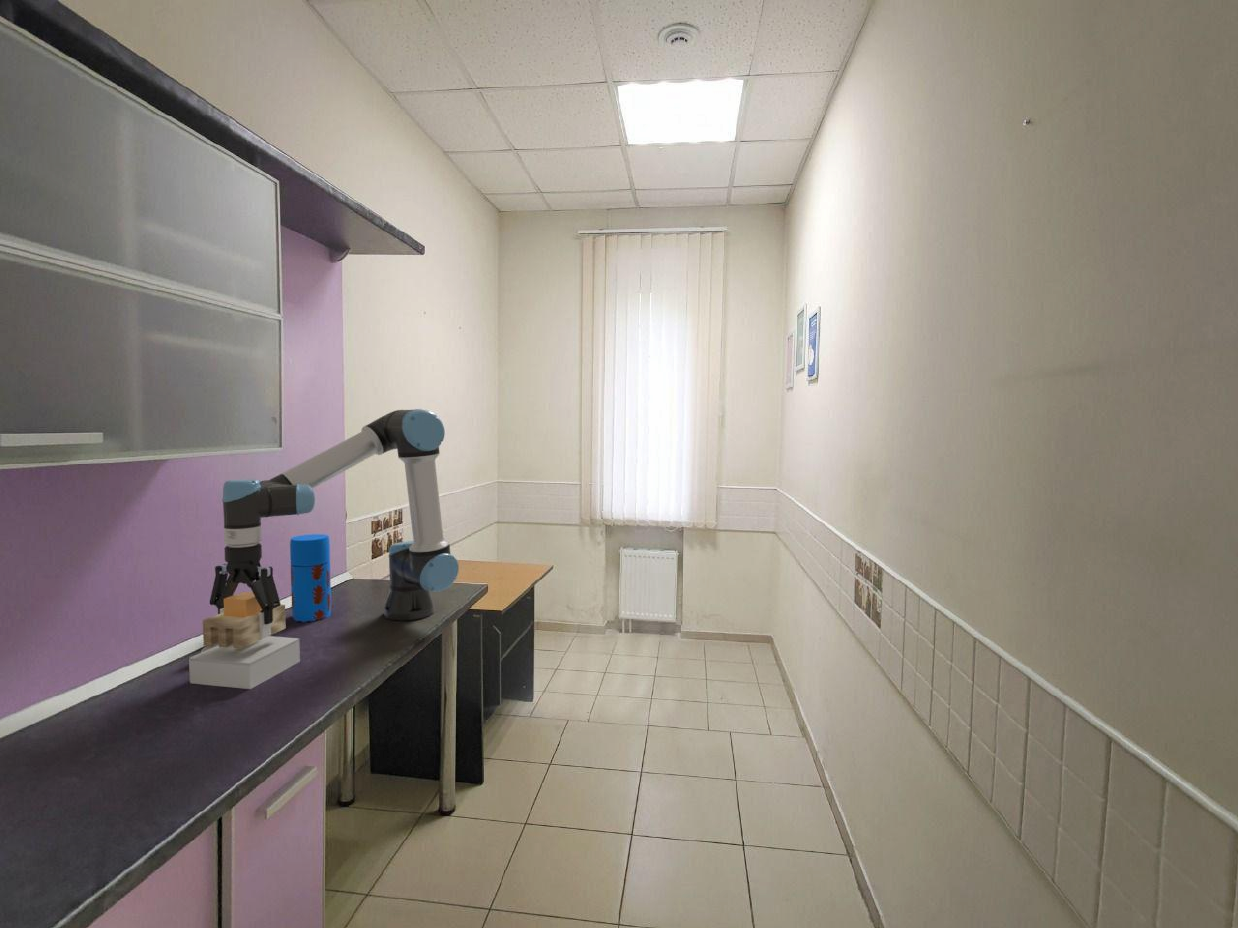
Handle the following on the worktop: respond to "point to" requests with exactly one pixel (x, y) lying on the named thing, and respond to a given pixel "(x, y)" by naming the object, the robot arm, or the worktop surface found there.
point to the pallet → (239, 628)
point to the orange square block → (241, 605)
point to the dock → (244, 663)
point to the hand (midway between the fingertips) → (245, 635)
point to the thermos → (310, 577)
